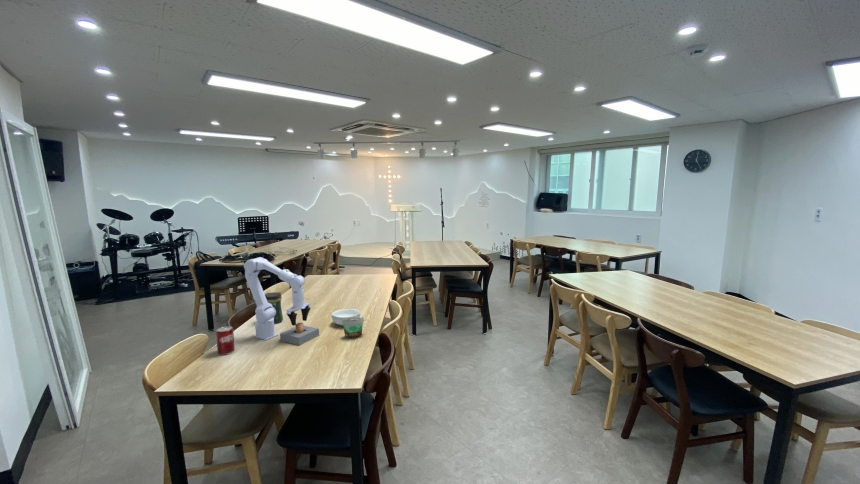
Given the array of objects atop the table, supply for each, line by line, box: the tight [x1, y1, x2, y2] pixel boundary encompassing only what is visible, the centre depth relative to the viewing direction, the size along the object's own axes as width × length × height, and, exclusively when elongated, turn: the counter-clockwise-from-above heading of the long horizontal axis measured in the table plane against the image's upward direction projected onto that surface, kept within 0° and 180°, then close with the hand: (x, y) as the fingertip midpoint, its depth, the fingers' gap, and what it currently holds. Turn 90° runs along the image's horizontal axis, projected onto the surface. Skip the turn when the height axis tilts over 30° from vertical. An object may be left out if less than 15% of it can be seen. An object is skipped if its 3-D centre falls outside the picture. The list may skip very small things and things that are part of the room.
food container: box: [342, 316, 365, 339], centre depth 180 cm, size 12×6×10 cm, turn 117°
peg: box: [295, 322, 305, 334], centre depth 178 cm, size 4×4×8 cm
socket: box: [279, 325, 320, 346], centre depth 178 cm, size 14×14×4 cm
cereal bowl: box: [331, 308, 361, 327], centre depth 200 cm, size 17×17×7 cm
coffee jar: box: [264, 292, 284, 324], centre depth 202 cm, size 10×8×19 cm
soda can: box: [215, 326, 236, 356], centre depth 161 cm, size 7×7×12 cm
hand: (299, 322), depth 178 cm, fingers open, 7 cm apart
